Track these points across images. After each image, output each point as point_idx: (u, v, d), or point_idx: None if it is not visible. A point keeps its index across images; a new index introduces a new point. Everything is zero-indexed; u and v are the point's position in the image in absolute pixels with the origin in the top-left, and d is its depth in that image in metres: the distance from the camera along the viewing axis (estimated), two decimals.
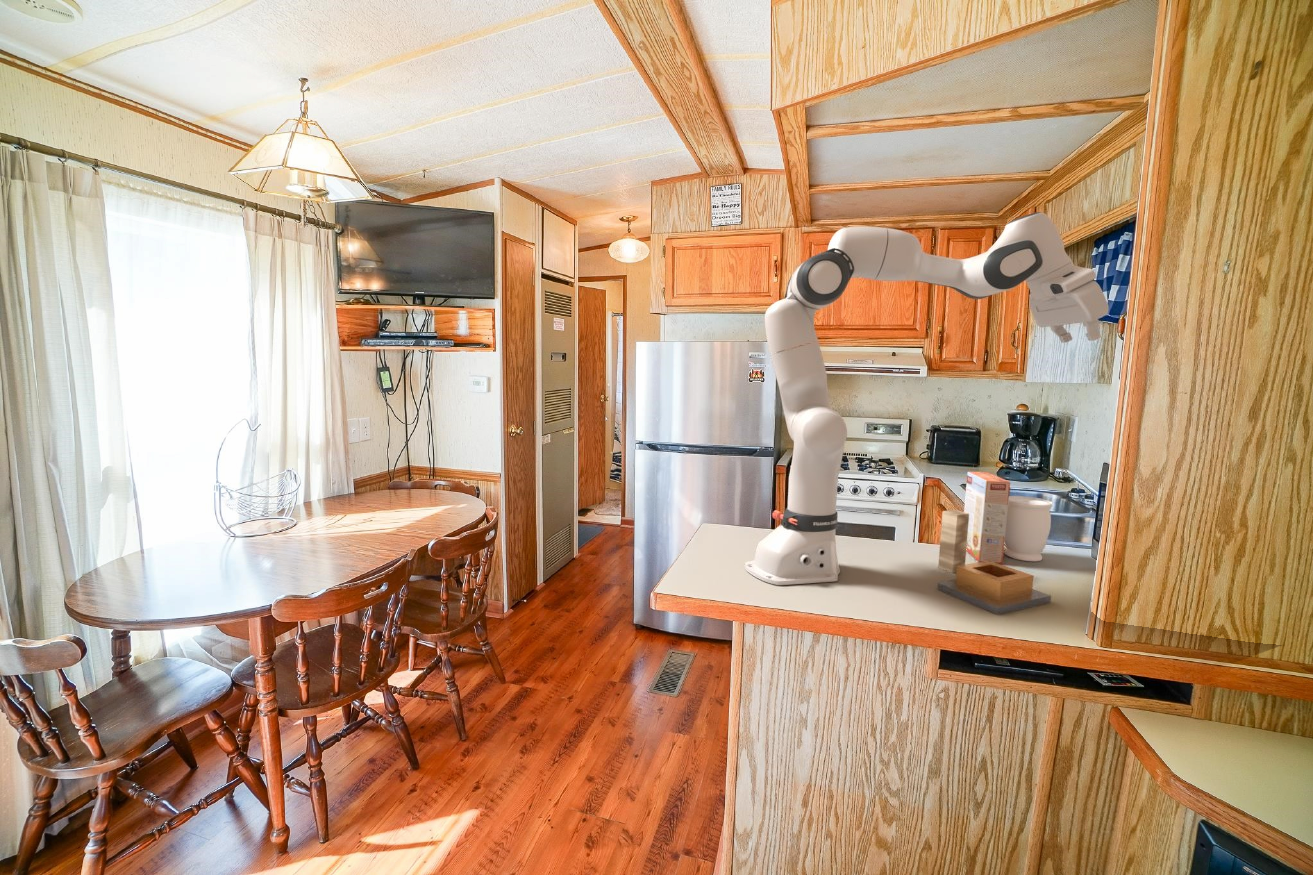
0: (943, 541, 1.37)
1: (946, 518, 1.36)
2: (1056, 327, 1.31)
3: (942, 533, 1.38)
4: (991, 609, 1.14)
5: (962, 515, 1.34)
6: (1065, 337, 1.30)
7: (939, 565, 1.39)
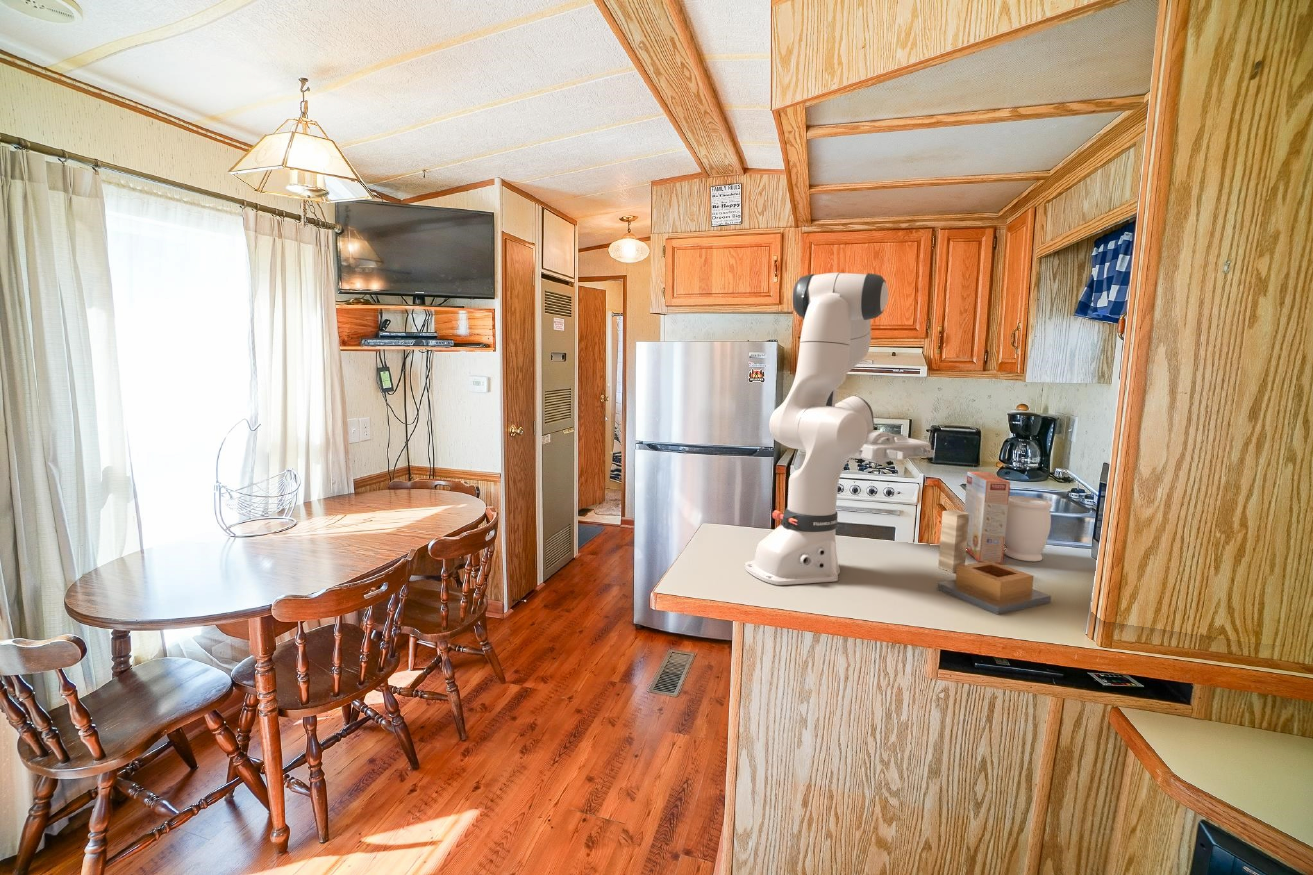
0: (943, 541, 1.37)
1: (946, 518, 1.36)
2: None
3: (942, 533, 1.38)
4: (991, 609, 1.14)
5: (962, 515, 1.34)
6: None
7: (939, 565, 1.39)
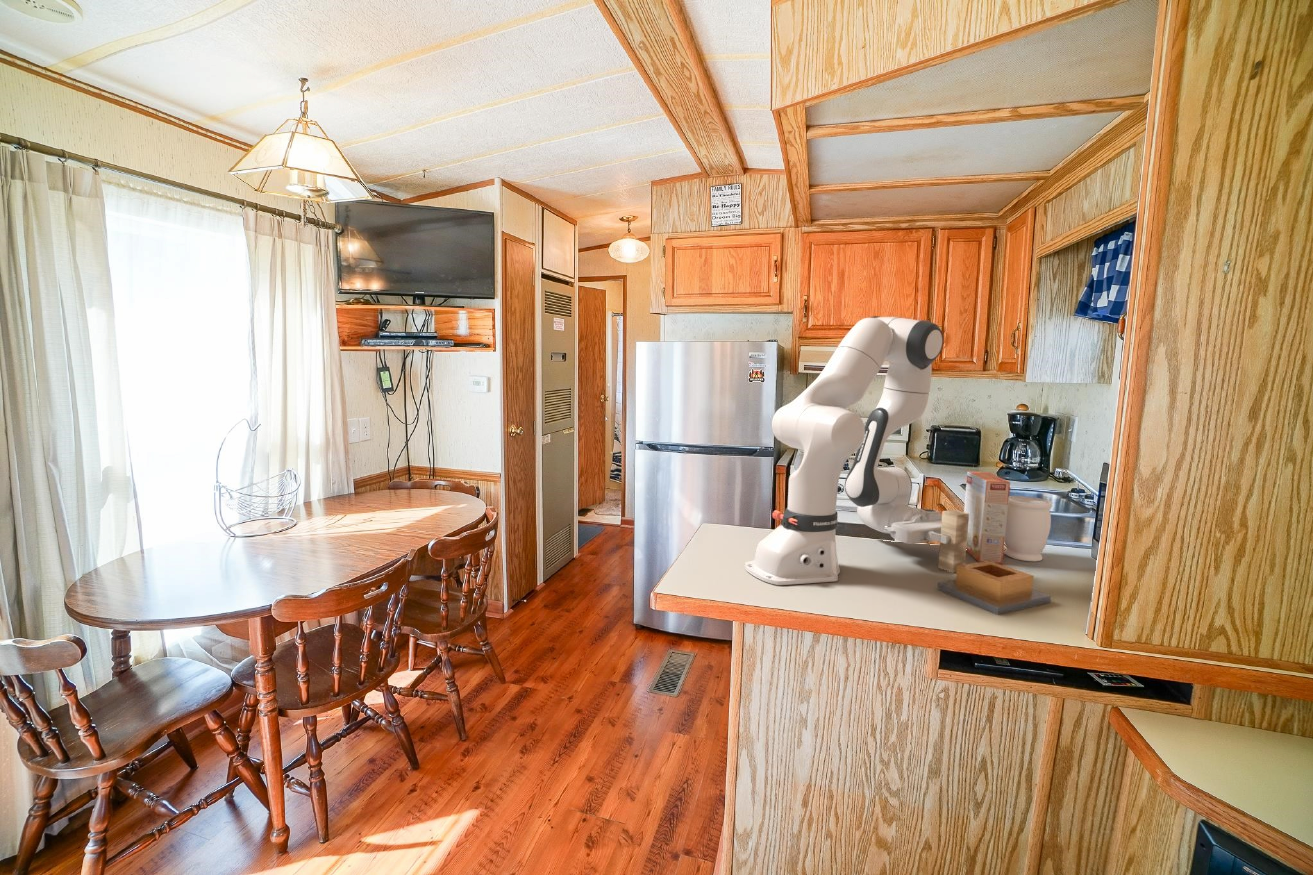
0: None
1: (946, 518, 1.36)
2: None
3: (942, 533, 1.38)
4: (991, 609, 1.14)
5: (962, 515, 1.34)
6: None
7: (939, 565, 1.39)
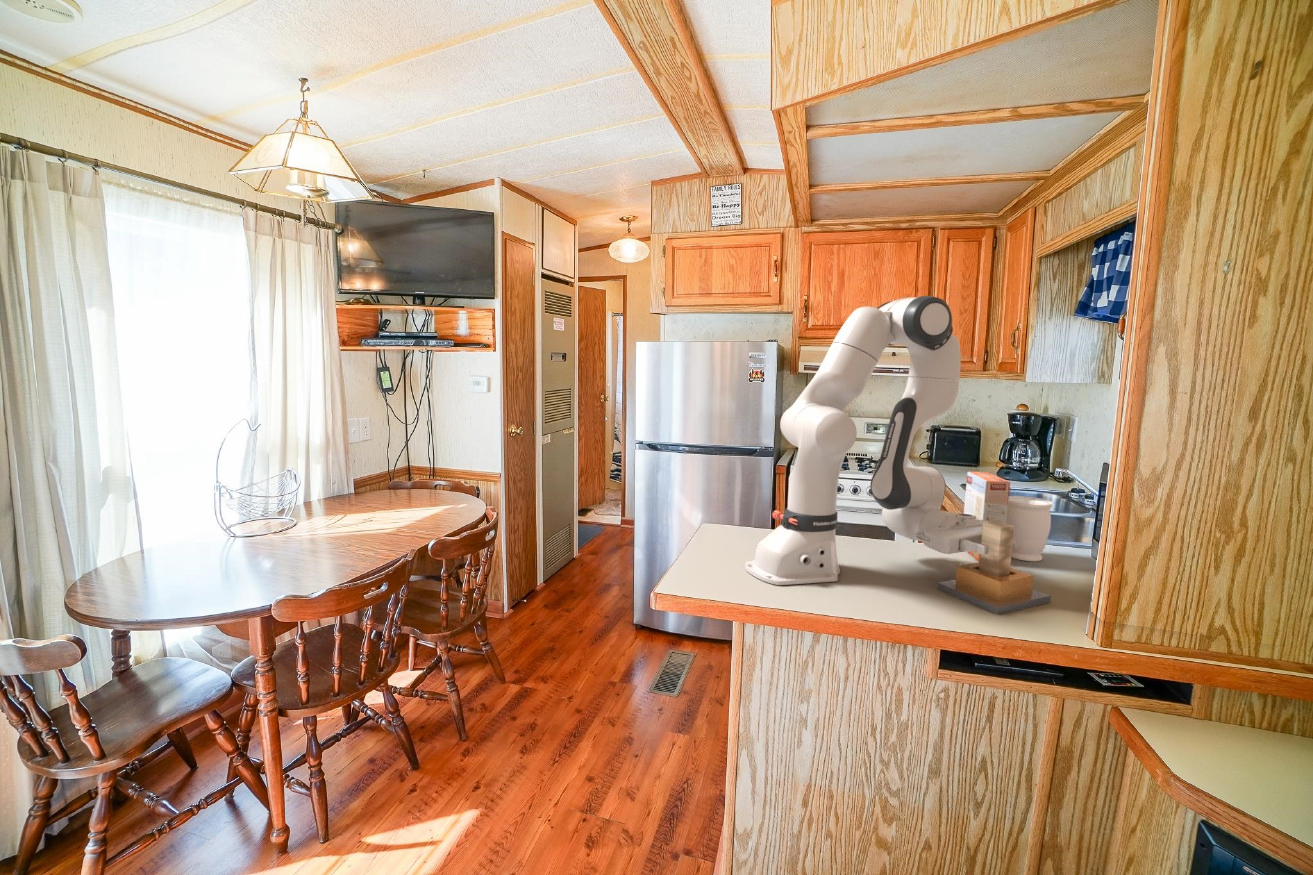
0: (984, 557, 1.21)
1: (987, 531, 1.20)
2: None
3: None
4: (991, 609, 1.14)
5: (1006, 528, 1.18)
6: None
7: None
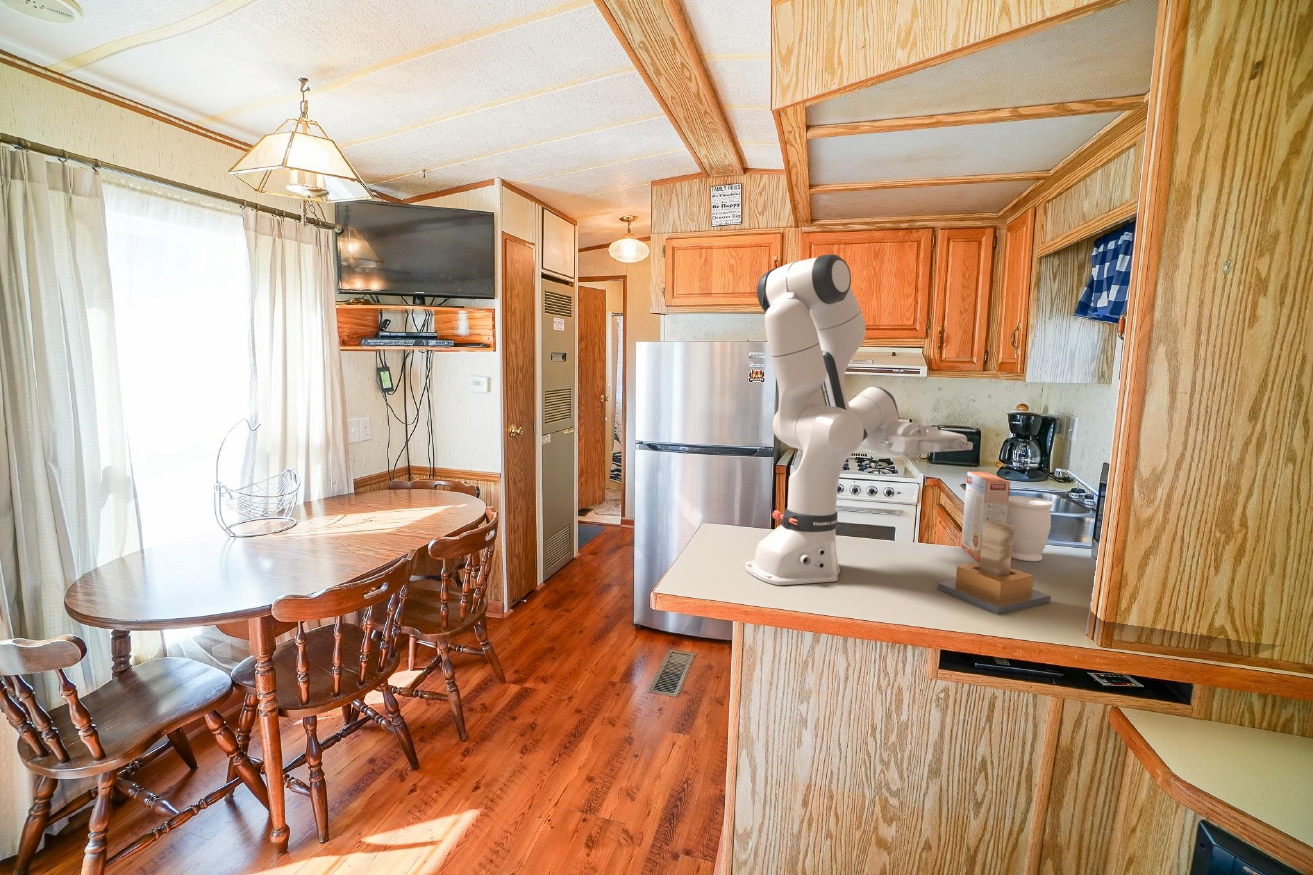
0: (984, 557, 1.21)
1: (987, 531, 1.20)
2: None
3: (982, 548, 1.21)
4: (991, 609, 1.14)
5: (1006, 528, 1.18)
6: None
7: None
